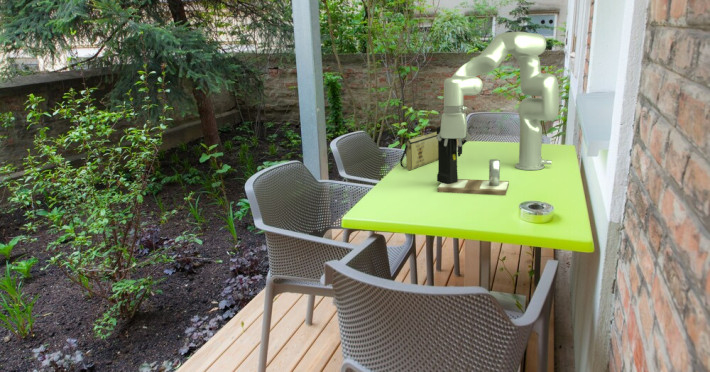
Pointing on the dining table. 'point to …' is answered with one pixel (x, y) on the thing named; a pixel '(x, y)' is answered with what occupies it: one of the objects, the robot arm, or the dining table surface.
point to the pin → (494, 172)
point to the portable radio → (447, 161)
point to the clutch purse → (421, 151)
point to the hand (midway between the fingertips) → (453, 155)
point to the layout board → (474, 187)
